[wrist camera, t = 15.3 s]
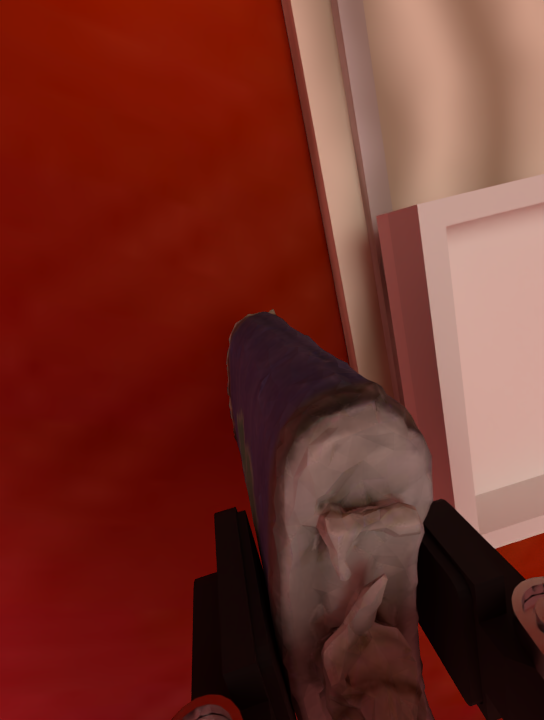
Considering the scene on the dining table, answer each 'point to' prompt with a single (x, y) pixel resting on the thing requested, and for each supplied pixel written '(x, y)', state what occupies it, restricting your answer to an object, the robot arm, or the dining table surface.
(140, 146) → the dining table surface
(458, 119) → the rail board
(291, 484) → the flask
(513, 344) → the pink rimmed tray
